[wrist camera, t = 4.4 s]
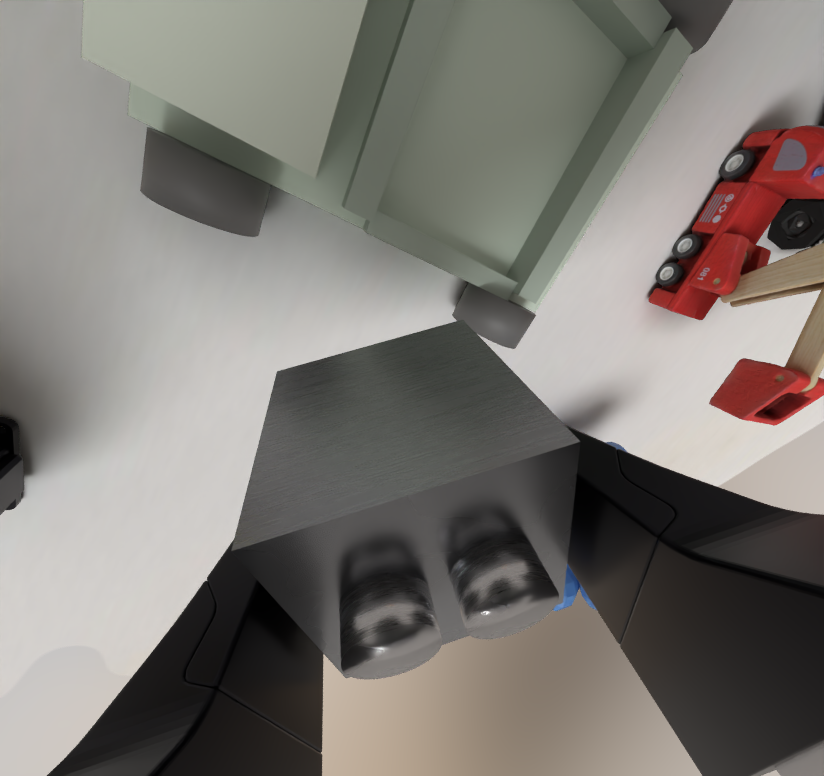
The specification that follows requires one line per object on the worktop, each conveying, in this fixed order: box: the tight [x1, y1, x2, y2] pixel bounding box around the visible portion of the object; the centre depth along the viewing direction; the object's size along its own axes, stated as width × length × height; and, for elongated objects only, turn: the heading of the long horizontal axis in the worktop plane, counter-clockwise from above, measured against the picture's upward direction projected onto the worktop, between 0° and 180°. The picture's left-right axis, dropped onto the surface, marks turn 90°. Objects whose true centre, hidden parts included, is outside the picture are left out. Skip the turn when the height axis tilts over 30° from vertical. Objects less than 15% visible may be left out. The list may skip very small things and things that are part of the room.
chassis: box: [81, 0, 733, 349], centre depth 13 cm, size 20×16×5 cm
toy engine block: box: [231, 320, 580, 679], centre depth 8 cm, size 5×5×6 cm
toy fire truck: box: [649, 126, 824, 425], centre depth 18 cm, size 3×14×10 cm, turn 163°
